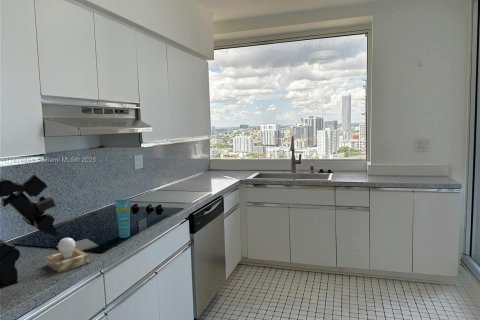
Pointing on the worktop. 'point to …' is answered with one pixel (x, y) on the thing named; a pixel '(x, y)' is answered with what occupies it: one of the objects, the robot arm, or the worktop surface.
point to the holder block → (62, 265)
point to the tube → (123, 217)
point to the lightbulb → (66, 247)
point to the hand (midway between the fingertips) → (52, 233)
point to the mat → (84, 244)
